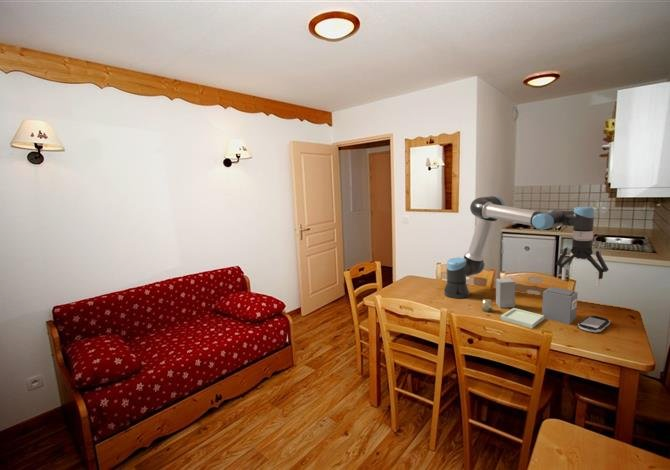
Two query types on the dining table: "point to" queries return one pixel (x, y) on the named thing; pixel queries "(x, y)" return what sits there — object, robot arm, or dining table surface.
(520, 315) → the tray
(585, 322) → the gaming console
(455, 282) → the robot arm
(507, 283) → the skincare box
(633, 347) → the dining table surface
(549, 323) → the dining table surface
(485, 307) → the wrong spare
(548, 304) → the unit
